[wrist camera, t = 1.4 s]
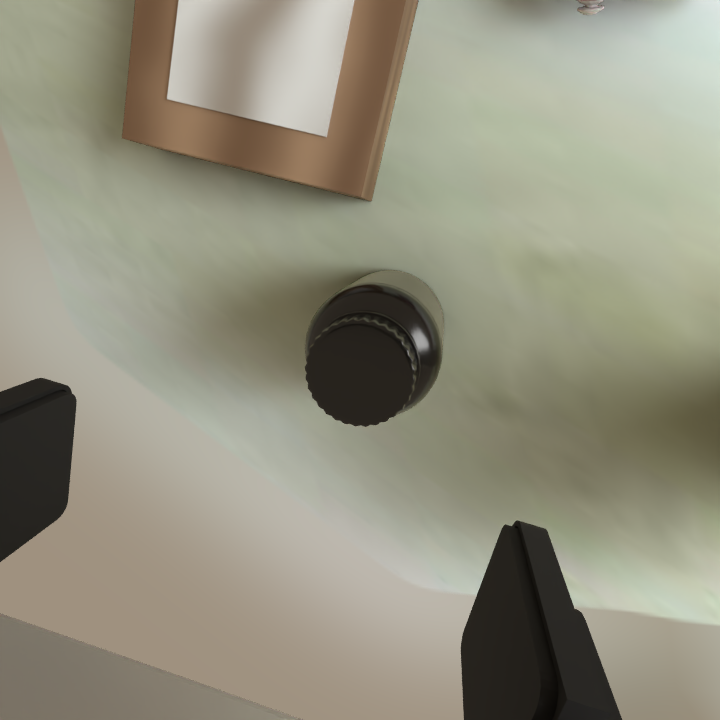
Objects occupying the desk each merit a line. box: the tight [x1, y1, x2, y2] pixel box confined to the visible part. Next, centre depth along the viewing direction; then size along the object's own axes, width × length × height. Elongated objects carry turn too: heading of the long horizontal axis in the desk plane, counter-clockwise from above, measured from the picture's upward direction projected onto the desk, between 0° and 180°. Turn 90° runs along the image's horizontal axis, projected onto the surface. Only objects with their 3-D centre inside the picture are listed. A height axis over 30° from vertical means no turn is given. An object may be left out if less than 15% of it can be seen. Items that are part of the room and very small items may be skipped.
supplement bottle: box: [305, 270, 444, 427], centre depth 27 cm, size 7×7×12 cm
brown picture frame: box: [122, 0, 418, 201], centre depth 28 cm, size 14×14×4 cm
